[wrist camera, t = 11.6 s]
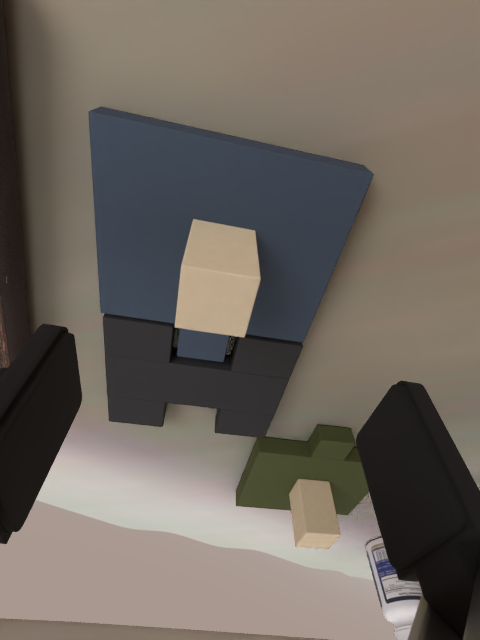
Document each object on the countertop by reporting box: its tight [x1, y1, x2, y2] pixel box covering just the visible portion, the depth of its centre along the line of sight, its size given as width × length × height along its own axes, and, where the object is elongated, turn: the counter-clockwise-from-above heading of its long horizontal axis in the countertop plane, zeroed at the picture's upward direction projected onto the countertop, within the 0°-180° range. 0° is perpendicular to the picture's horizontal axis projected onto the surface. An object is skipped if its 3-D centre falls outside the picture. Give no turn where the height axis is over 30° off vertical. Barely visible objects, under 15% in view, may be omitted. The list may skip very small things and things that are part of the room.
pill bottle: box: [366, 538, 422, 640], centre depth 41 cm, size 5×5×10 cm
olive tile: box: [236, 425, 369, 549], centre depth 30 cm, size 12×13×6 cm
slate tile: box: [89, 107, 374, 362], centre depth 17 cm, size 12×13×6 cm
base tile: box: [103, 313, 303, 438], centre depth 24 cm, size 12×10×2 cm
